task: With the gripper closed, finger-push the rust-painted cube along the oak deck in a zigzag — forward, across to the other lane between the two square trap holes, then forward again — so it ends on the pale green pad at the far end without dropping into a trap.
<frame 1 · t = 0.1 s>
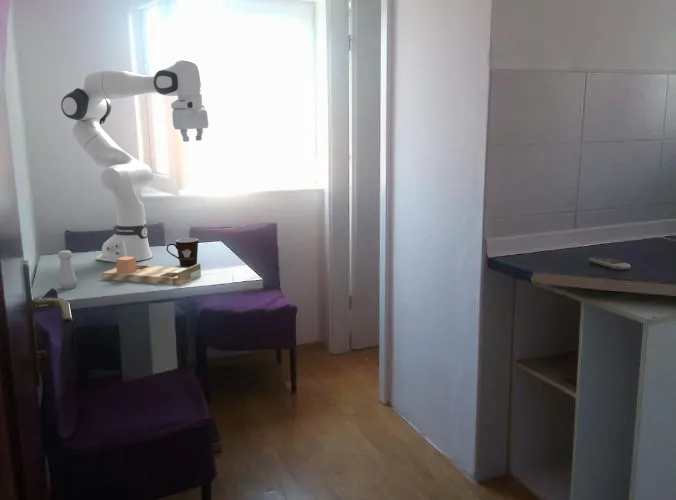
hand: (192, 141, 244), 48 cm above the table, tool pointing down, fingers open, 8 cm apart
block: (127, 271, 230), point 2 cm above the table, touching trap box
salt shaker: (68, 288, 219), on the table
coffee mug: (185, 265, 250), on the table
trap box: (152, 277, 231), on the table
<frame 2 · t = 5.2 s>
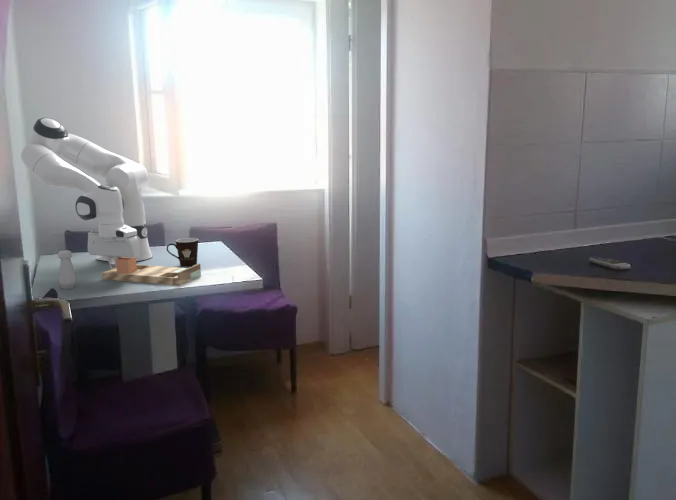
hand: (114, 268, 231), 4 cm above the table, tool pointing down, fingers closed
block: (127, 271, 230), point 2 cm above the table, touching gripper, trap box
everything else where it was.
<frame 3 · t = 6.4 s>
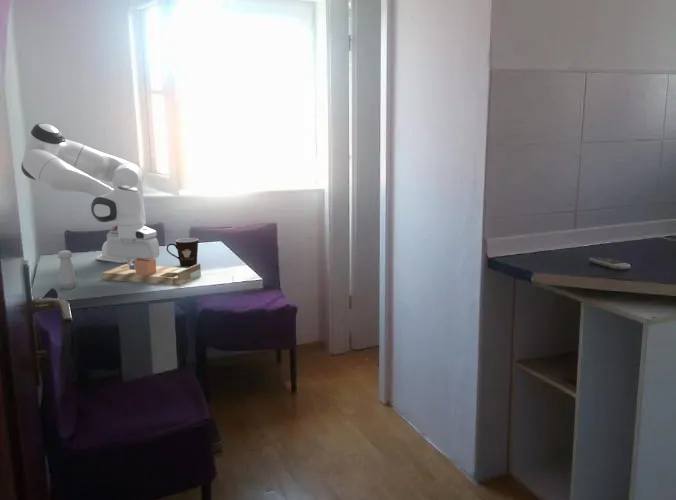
hand: (134, 269, 228), 4 cm above the table, tool pointing down, fingers closed
block: (146, 273, 227), point 3 cm above the table, touching gripper
everything else where it was.
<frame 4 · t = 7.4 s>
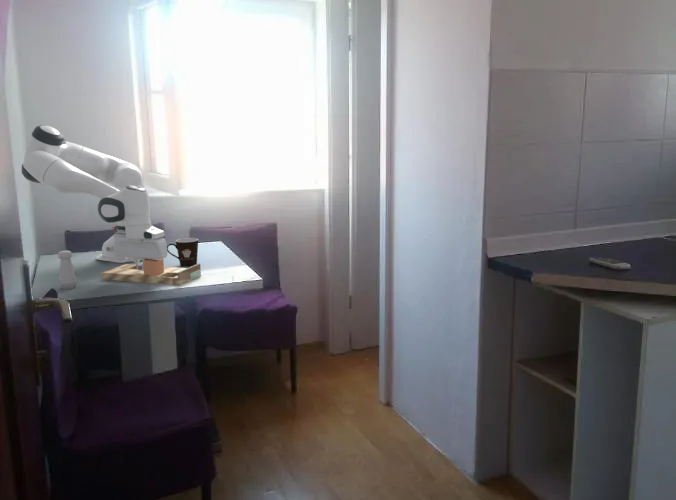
hand: (141, 269, 227), 4 cm above the table, tool pointing down, fingers closed
block: (153, 273, 226), point 3 cm above the table, touching gripper, trap box
everything else where it was.
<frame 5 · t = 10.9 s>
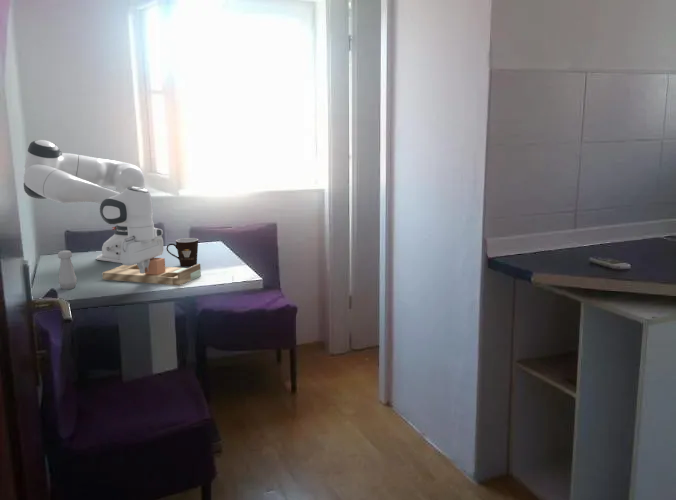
hand: (144, 272, 223), 4 cm above the table, tool pointing down, fingers closed
block: (155, 272, 227), point 3 cm above the table, touching gripper
everything else where it was.
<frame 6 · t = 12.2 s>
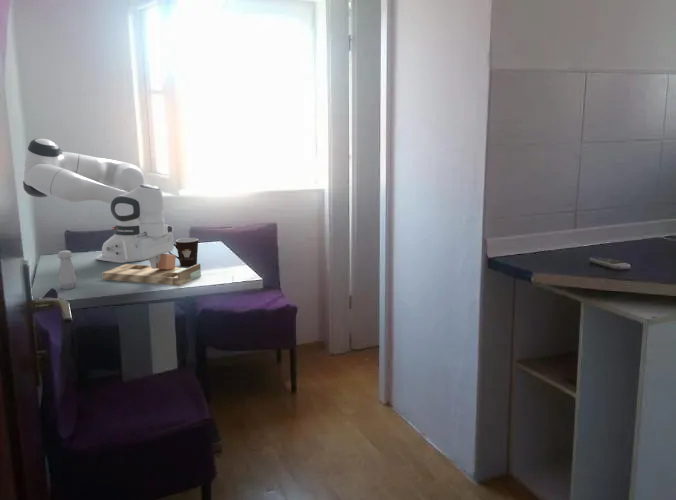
hand: (155, 268, 229), 4 cm above the table, tool pointing down, fingers closed
block: (165, 268, 232), point 3 cm above the table, tilted 9°, touching gripper, trap box
everything else where it was.
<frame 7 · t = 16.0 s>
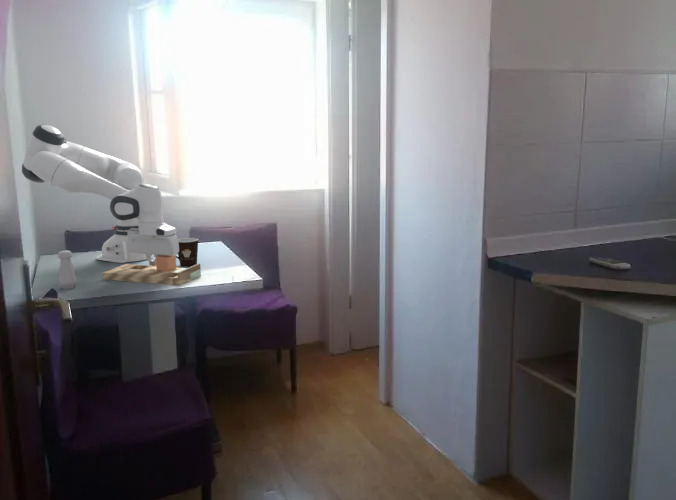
hand: (154, 265, 233), 4 cm above the table, tool pointing down, fingers closed
block: (166, 269, 232), point 3 cm above the table
everything else where it was.
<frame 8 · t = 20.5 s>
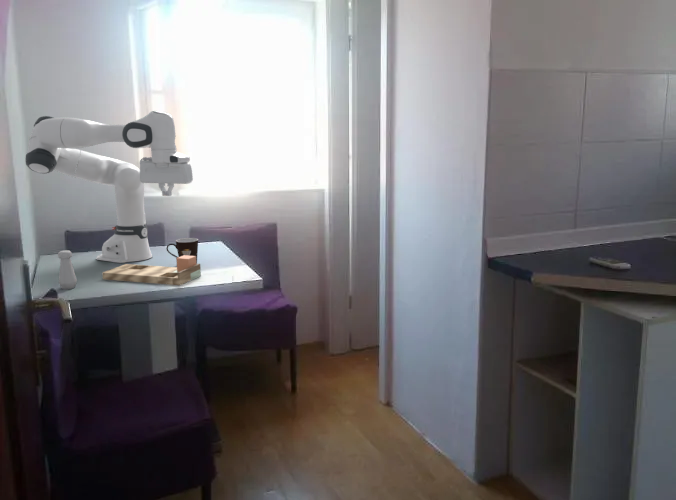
hand: (167, 195, 230), 29 cm above the table, tool pointing down, fingers closed
block: (187, 270, 230), point 2 cm above the table, touching trap box
everything else where it was.
at the end: block inside the target area on the trap box (1.2 cm from its centre), point 2.5 cm above the trap box's base; block tilted 0° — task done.
